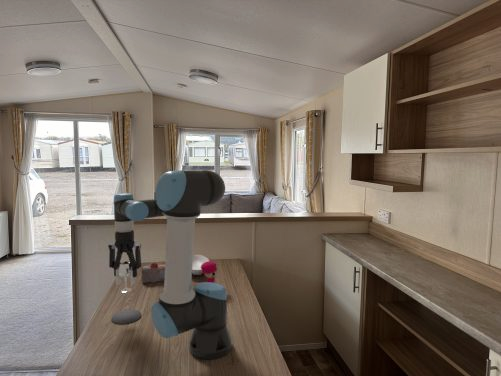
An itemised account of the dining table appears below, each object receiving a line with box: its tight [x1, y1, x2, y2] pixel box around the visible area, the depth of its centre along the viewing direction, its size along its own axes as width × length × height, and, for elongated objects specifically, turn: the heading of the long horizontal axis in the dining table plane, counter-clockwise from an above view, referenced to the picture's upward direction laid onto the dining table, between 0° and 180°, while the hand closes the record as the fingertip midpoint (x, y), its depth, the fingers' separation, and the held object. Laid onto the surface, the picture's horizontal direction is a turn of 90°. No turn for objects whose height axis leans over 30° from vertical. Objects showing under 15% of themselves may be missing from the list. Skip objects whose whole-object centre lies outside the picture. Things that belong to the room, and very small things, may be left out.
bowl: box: [192, 254, 210, 276], centre depth 202 cm, size 30×15×6 cm, turn 13°
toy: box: [201, 260, 218, 283], centre depth 173 cm, size 8×8×15 cm
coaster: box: [111, 309, 142, 325], centre depth 143 cm, size 12×12×1 cm
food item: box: [140, 262, 165, 284], centre depth 186 cm, size 14×8×10 cm, turn 111°
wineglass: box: [118, 260, 133, 293], centre depth 142 cm, size 6×6×12 cm
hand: (125, 283), depth 142 cm, fingers closed on wineglass, 6 cm apart
